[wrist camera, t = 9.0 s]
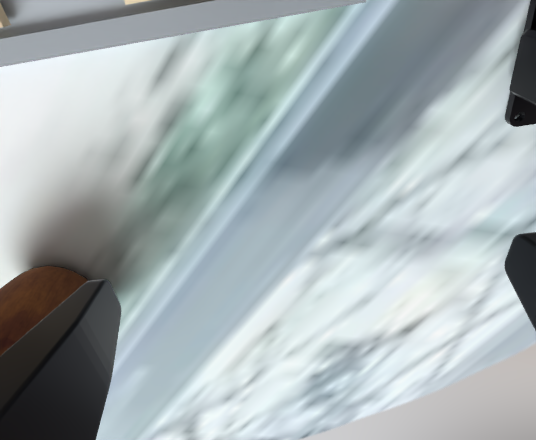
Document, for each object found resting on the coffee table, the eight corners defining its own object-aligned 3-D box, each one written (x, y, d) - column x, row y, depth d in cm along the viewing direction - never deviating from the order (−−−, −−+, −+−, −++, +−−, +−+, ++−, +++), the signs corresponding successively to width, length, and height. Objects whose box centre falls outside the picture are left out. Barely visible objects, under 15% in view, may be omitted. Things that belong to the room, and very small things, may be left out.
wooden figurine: (135, 299, 25) (32, 618, 13) (76, 332, 27) (-66, 644, 15) (52, 234, 22) (-192, 582, 10) (-10, 276, 24) (-288, 621, 11)
